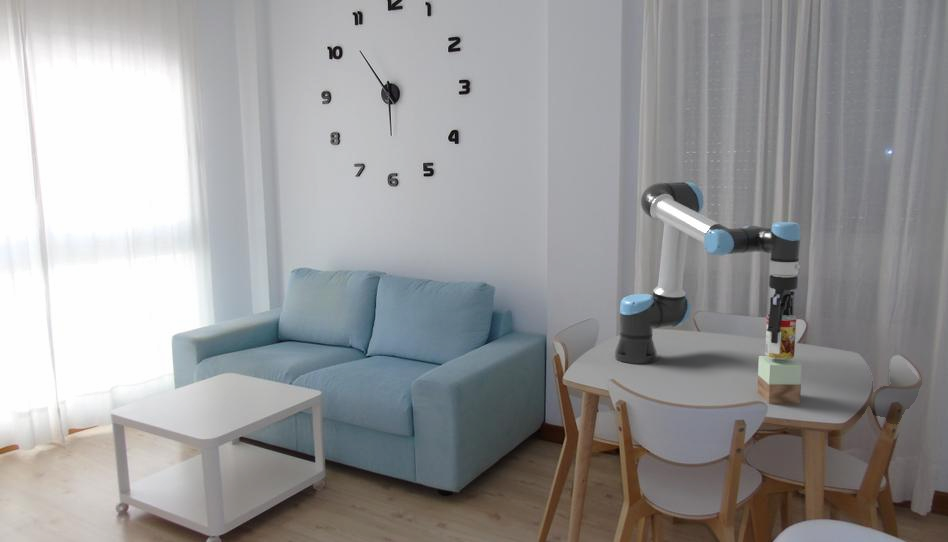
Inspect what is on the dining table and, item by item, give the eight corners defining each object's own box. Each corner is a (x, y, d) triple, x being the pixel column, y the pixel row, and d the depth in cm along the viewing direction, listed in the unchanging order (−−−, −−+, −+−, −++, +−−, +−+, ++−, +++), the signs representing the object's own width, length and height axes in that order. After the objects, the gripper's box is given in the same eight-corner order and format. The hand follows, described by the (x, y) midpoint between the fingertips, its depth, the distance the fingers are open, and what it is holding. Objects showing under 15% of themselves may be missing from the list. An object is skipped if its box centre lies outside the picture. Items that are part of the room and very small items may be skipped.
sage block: (769, 384, 190) (770, 365, 189) (757, 374, 199) (758, 356, 198) (800, 384, 189) (801, 364, 188) (787, 374, 198) (788, 356, 197)
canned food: (797, 359, 188) (800, 319, 186) (769, 359, 189) (771, 319, 188) (789, 352, 196) (791, 313, 194) (761, 351, 197) (763, 313, 195)
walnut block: (768, 404, 191) (769, 384, 190) (757, 393, 199) (758, 375, 199) (799, 404, 190) (801, 384, 189) (787, 393, 199) (788, 374, 198)
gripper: (785, 281, 179) (781, 360, 182) (808, 271, 194) (803, 344, 197) (757, 278, 184) (754, 355, 187) (782, 269, 199) (778, 340, 202)
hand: (779, 349), depth 192 cm, fingers closed on canned food, 8 cm apart
